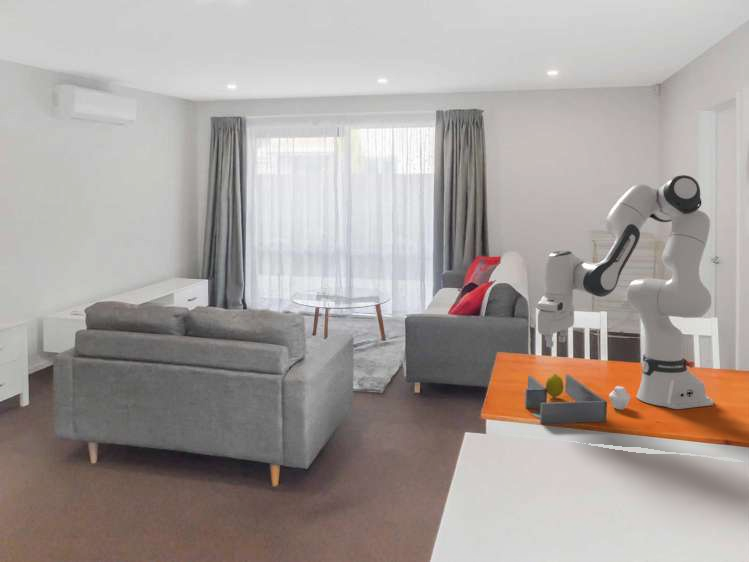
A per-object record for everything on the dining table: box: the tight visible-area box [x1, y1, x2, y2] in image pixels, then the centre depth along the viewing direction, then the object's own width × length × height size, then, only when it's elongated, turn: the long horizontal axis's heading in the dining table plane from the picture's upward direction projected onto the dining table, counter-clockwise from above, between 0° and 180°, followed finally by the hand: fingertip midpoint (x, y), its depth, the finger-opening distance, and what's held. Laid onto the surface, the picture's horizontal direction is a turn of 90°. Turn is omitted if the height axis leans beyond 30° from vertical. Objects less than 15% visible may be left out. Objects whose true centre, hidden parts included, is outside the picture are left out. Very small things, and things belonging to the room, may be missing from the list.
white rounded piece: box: [608, 385, 631, 410], centre depth 189 cm, size 6×6×7 cm
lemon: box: [545, 373, 564, 399], centre depth 198 cm, size 6×6×8 cm
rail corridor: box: [524, 374, 608, 425], centre depth 190 cm, size 20×28×6 cm
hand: (555, 344), depth 196 cm, fingers open, 8 cm apart
